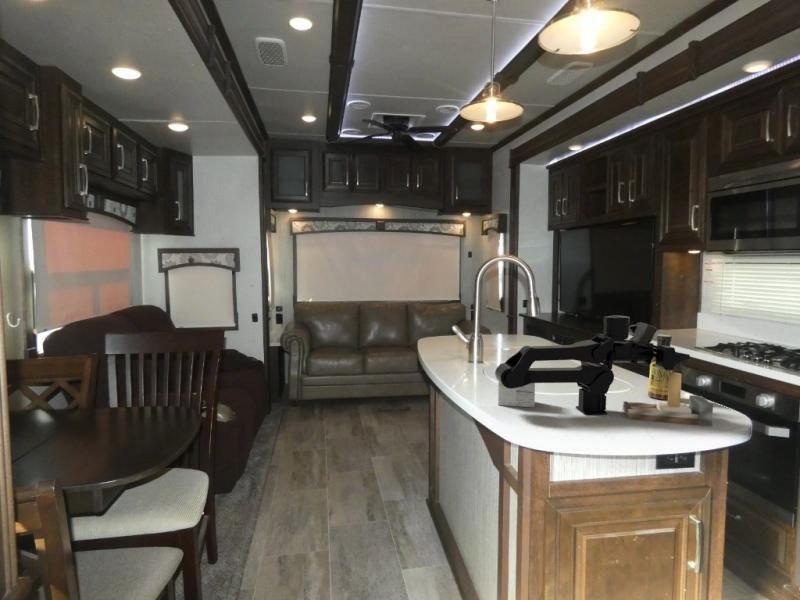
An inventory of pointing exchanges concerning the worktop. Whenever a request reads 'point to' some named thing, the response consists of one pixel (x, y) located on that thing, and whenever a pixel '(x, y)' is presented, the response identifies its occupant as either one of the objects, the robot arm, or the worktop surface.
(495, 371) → the robot arm
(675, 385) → the rail carriage
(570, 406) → the worktop surface
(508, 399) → the light bulb box
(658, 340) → the sauce bottle
